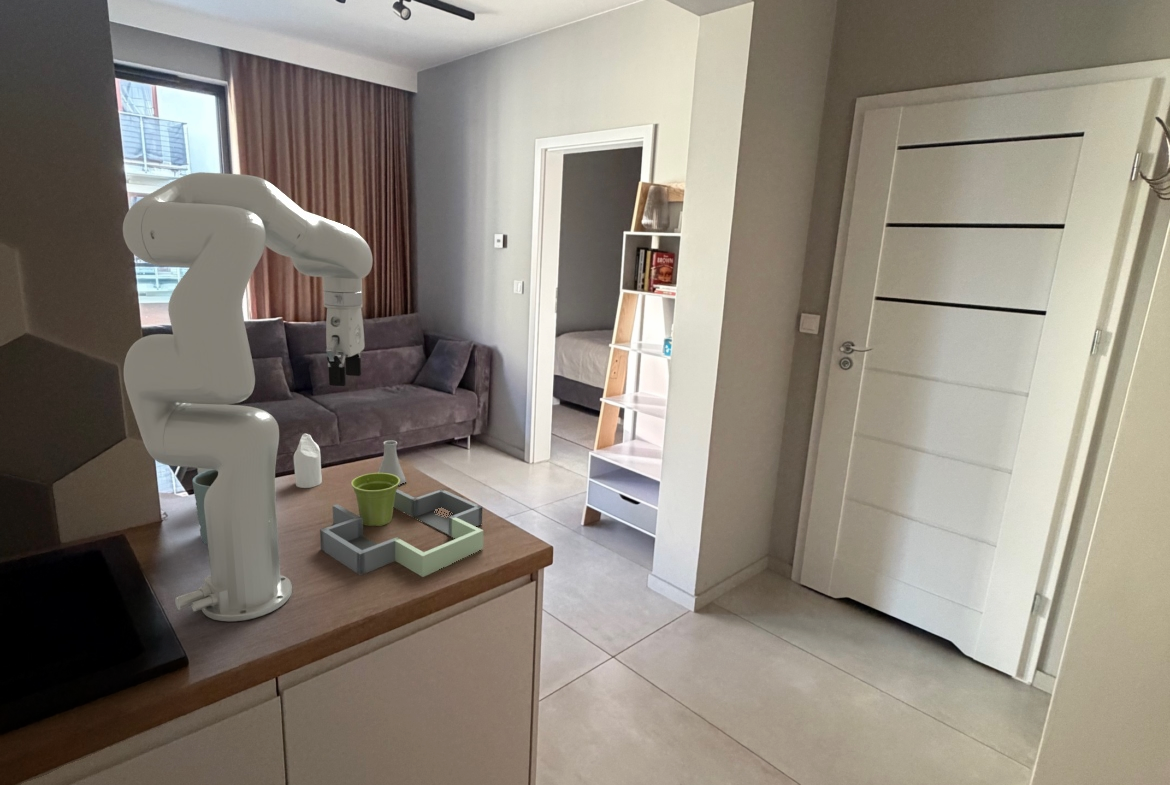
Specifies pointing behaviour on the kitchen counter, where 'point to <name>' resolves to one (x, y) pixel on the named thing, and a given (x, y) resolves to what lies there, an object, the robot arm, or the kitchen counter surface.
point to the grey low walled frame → (367, 556)
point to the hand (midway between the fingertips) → (345, 380)
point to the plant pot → (376, 497)
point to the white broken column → (307, 463)
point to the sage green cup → (203, 497)
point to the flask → (391, 461)
